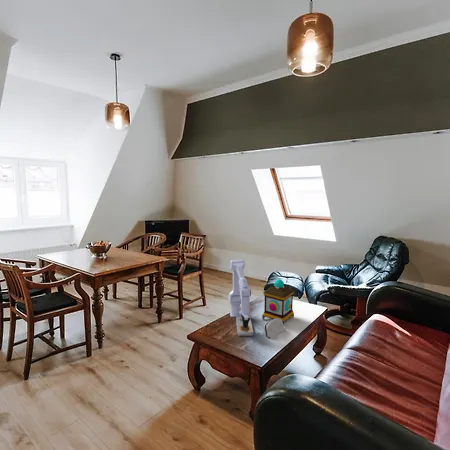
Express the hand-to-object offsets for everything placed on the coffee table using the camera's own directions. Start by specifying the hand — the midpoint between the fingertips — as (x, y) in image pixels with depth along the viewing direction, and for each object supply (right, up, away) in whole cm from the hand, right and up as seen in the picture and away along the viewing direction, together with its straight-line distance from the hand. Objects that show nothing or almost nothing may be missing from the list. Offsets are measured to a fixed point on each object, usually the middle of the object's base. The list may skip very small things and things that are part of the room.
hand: (245, 324), depth 198 cm
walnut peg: (0, -5, +1) cm, 5 cm away
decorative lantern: (+26, -2, +20) cm, 33 cm away
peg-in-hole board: (0, -4, +7) cm, 8 cm away
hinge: (+19, -5, 0) cm, 20 cm away
